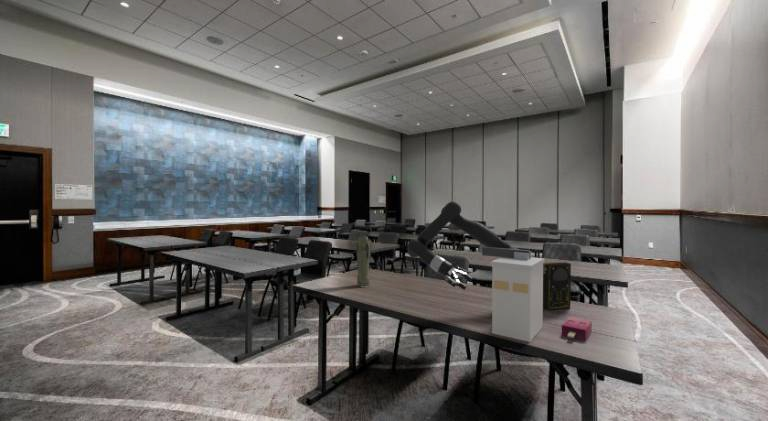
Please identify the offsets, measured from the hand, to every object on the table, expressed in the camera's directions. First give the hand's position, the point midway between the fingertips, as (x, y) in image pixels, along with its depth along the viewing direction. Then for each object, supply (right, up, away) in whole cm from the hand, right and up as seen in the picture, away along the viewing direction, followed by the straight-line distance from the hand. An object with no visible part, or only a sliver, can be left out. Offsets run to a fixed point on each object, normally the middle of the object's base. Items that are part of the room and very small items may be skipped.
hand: (468, 284), depth 164 cm
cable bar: (+17, +14, -3) cm, 22 cm away
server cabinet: (+20, -19, -11) cm, 29 cm away
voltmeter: (+54, -18, +23) cm, 61 cm away
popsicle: (+43, -19, -16) cm, 50 cm away
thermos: (-56, -17, +73) cm, 93 cm away
